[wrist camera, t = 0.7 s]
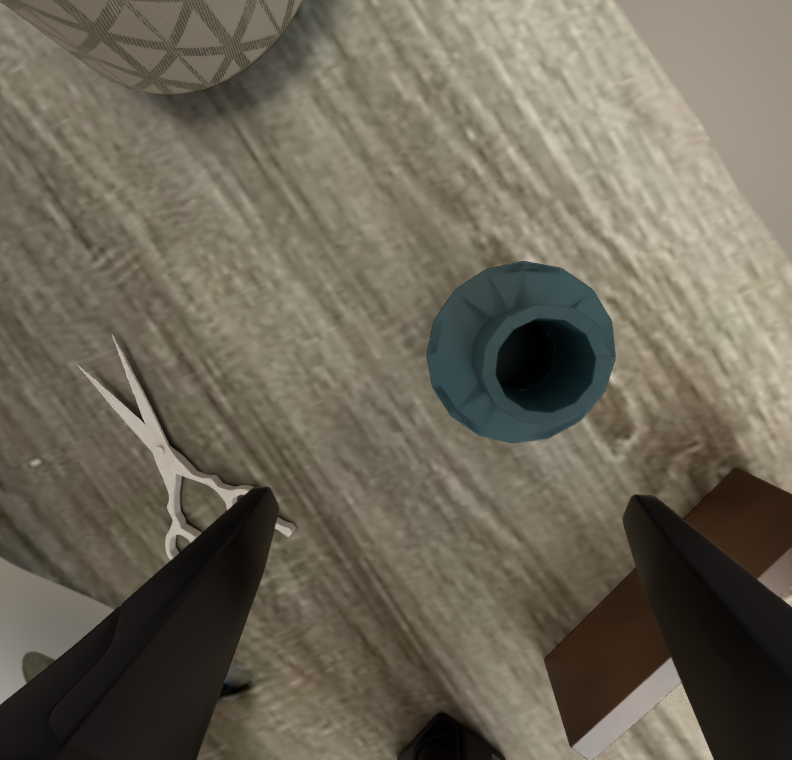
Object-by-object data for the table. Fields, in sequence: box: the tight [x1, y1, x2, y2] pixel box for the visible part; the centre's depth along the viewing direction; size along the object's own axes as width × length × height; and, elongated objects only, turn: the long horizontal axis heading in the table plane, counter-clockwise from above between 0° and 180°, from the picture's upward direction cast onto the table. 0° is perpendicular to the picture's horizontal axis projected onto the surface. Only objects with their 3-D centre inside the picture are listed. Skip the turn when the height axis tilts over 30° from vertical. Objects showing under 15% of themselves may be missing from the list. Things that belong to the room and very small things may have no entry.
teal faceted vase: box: [427, 261, 616, 443], centre depth 16 cm, size 7×7×14 cm
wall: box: [544, 468, 792, 760], centre depth 21 cm, size 19×2×6 cm, turn 146°
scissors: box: [78, 333, 296, 560], centre depth 27 cm, size 11×1×20 cm
